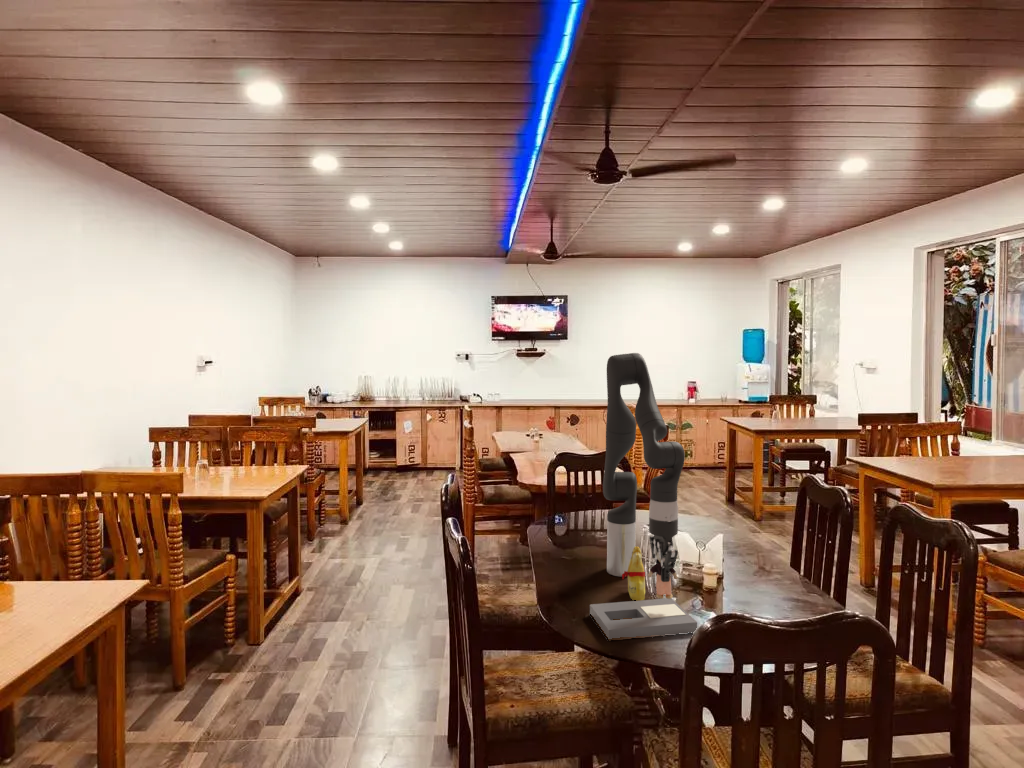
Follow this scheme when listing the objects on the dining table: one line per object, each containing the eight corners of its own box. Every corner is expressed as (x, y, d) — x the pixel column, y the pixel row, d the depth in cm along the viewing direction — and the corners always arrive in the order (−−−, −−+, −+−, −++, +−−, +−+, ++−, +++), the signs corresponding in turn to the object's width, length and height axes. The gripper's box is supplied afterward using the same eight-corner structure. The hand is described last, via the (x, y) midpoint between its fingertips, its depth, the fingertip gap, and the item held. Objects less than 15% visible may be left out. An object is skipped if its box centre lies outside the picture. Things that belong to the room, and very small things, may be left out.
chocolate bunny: (642, 588, 197) (643, 540, 196) (647, 603, 186) (647, 552, 185) (620, 587, 198) (620, 540, 197) (623, 602, 187) (623, 551, 186)
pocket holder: (589, 615, 178) (589, 603, 178) (670, 608, 182) (671, 597, 182) (608, 641, 162) (608, 629, 162) (696, 633, 167) (697, 621, 167)
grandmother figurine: (674, 593, 175) (674, 547, 175) (678, 599, 171) (678, 552, 171) (646, 594, 175) (646, 548, 174) (650, 599, 171) (650, 552, 171)
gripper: (640, 509, 178) (639, 570, 179) (660, 523, 164) (660, 589, 165) (665, 508, 179) (665, 569, 180) (688, 522, 165) (687, 587, 167)
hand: (662, 578), depth 173 cm, fingers closed on grandmother figurine, 2 cm apart
